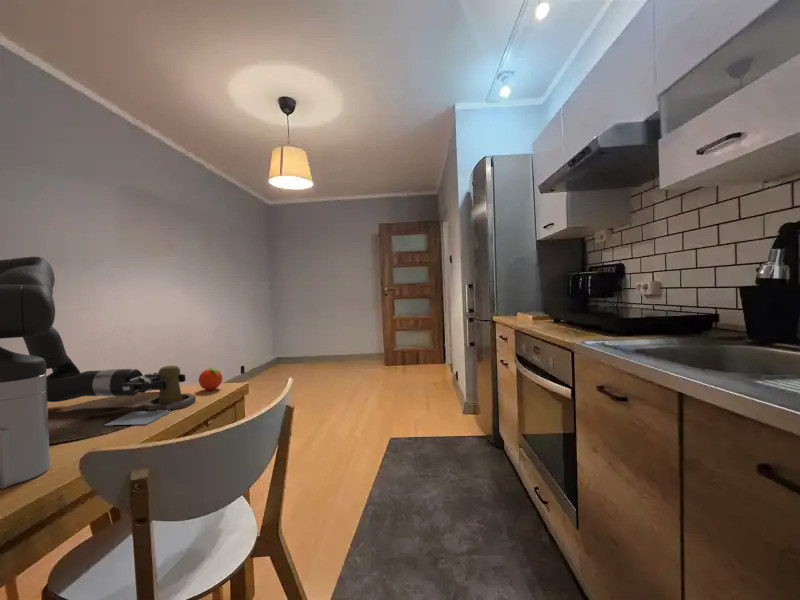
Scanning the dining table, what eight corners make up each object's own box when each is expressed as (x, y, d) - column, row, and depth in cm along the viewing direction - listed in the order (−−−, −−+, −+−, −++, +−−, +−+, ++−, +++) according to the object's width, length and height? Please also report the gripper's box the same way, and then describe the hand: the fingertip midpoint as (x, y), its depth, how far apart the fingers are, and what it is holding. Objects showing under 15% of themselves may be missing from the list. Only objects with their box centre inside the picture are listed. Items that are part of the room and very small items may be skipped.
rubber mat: (146, 425, 90) (146, 423, 90) (104, 426, 89) (104, 424, 89) (171, 411, 100) (171, 410, 100) (133, 412, 99) (133, 411, 99)
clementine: (229, 388, 123) (228, 367, 123) (208, 394, 117) (208, 371, 117) (214, 386, 127) (214, 365, 127) (194, 390, 121) (193, 368, 121)
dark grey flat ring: (179, 410, 100) (179, 404, 100) (135, 411, 100) (135, 405, 100) (201, 398, 112) (201, 393, 112) (162, 399, 112) (162, 394, 112)
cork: (187, 401, 109) (186, 364, 109) (172, 408, 103) (171, 368, 103) (168, 401, 109) (167, 364, 109) (152, 408, 103) (151, 368, 103)
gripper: (98, 375, 98) (160, 373, 99) (135, 364, 113) (189, 363, 113) (99, 403, 99) (161, 402, 99) (135, 389, 113) (190, 388, 113)
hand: (176, 381), depth 106 cm, fingers open, 8 cm apart
